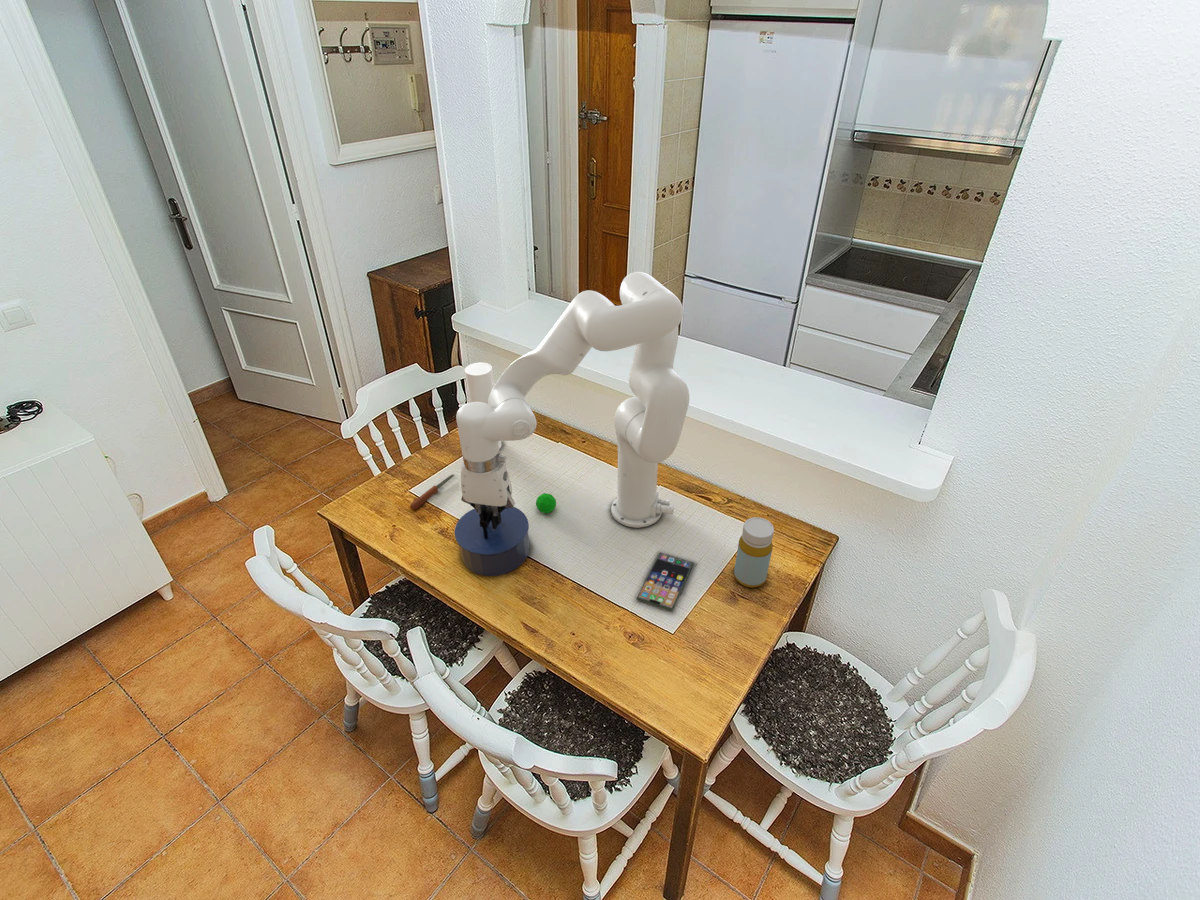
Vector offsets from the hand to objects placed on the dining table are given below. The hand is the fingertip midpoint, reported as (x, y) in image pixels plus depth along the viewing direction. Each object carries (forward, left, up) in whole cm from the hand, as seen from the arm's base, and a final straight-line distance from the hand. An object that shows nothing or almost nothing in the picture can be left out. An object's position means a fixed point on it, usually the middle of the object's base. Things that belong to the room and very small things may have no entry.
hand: (491, 523), depth 142 cm
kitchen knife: (+23, -17, -9) cm, 30 cm away
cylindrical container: (+16, -40, -9) cm, 44 cm away
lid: (0, 0, -2) cm, 2 cm away
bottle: (-58, -3, -9) cm, 59 cm away
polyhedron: (-8, -16, -9) cm, 20 cm away
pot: (0, 0, -9) cm, 9 cm away
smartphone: (-40, +2, -9) cm, 41 cm away
